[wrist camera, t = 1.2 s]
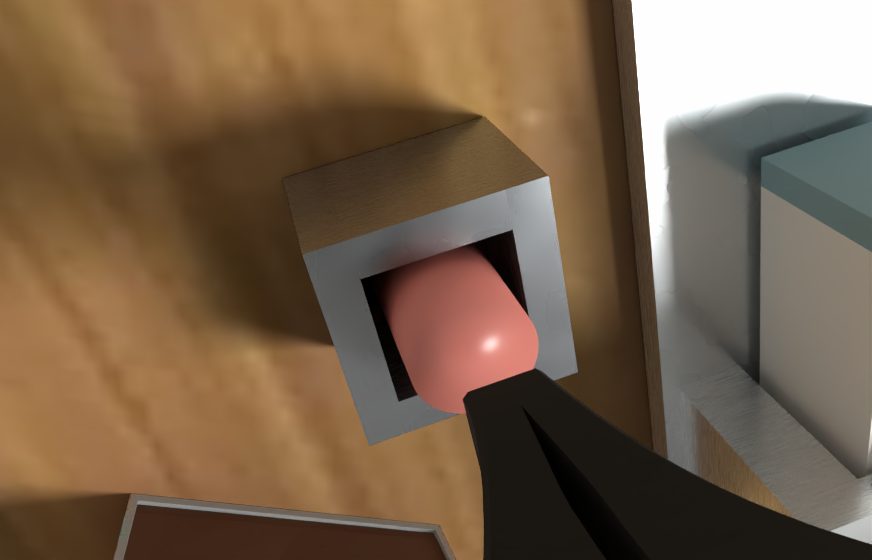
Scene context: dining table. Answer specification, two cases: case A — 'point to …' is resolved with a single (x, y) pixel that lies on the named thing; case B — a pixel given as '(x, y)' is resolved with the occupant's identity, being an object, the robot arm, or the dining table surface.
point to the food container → (267, 534)
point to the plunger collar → (426, 251)
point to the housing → (731, 226)
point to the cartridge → (820, 290)
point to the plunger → (455, 325)
